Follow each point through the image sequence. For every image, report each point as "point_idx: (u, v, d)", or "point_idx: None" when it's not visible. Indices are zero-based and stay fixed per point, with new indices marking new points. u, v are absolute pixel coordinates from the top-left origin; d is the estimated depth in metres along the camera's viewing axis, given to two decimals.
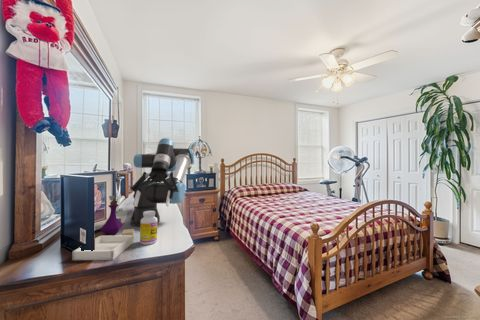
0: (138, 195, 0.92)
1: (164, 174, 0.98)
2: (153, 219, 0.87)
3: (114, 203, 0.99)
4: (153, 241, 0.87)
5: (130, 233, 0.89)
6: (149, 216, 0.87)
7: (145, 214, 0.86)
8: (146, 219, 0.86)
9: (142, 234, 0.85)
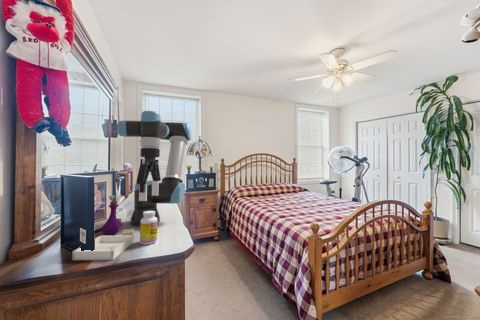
0: (154, 185, 0.95)
1: None
2: (153, 219, 0.87)
3: (114, 203, 0.99)
4: (153, 241, 0.87)
5: (130, 233, 0.89)
6: (149, 216, 0.87)
7: (145, 214, 0.86)
8: (146, 219, 0.86)
9: (142, 234, 0.85)
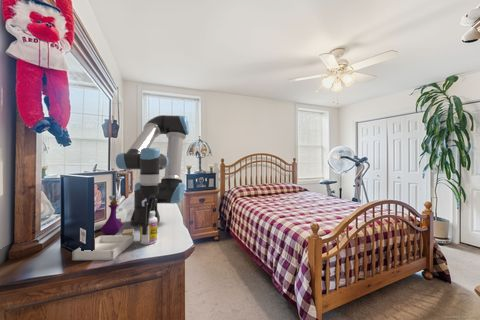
0: None
1: None
2: (153, 219, 0.87)
3: (114, 203, 0.99)
4: (153, 241, 0.87)
5: (130, 233, 0.89)
6: (149, 216, 0.87)
7: None
8: None
9: None
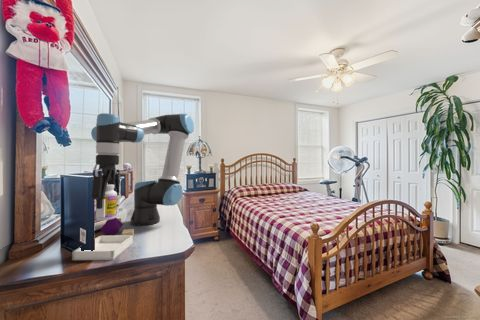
0: None
1: None
2: (111, 192, 0.79)
3: None
4: (110, 217, 0.78)
5: (130, 233, 0.89)
6: (106, 189, 0.78)
7: None
8: None
9: None
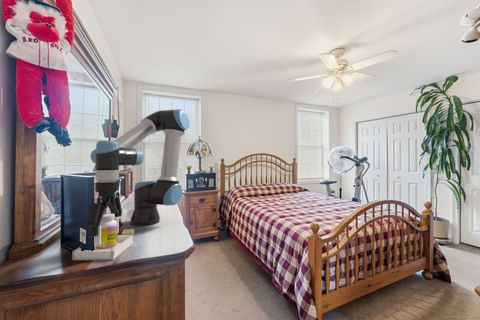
0: None
1: None
2: (111, 223, 0.79)
3: None
4: (110, 247, 0.78)
5: (130, 233, 0.89)
6: (106, 220, 0.78)
7: (102, 217, 0.78)
8: (103, 223, 0.78)
9: None
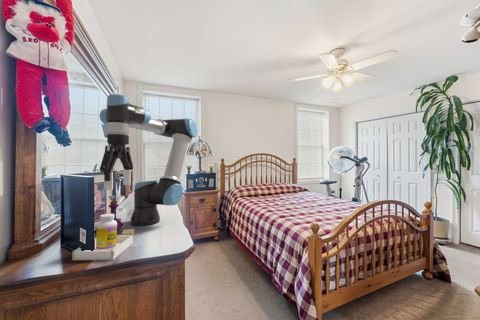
0: (125, 174, 0.91)
1: None
2: (111, 223, 0.79)
3: (114, 203, 0.99)
4: (110, 247, 0.78)
5: (130, 233, 0.89)
6: (106, 220, 0.78)
7: (102, 218, 0.78)
8: (102, 223, 0.78)
9: (98, 240, 0.77)
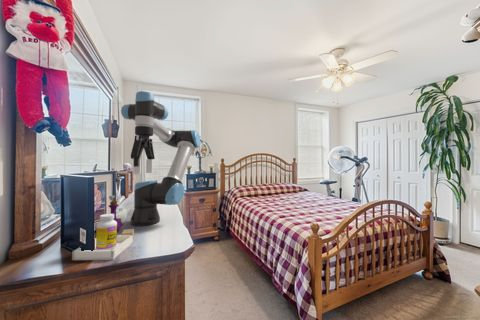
0: (148, 163, 1.01)
1: None
2: (111, 223, 0.79)
3: (114, 203, 0.99)
4: (110, 247, 0.78)
5: (130, 233, 0.89)
6: (106, 220, 0.78)
7: (101, 218, 0.78)
8: (102, 223, 0.78)
9: (98, 240, 0.77)
